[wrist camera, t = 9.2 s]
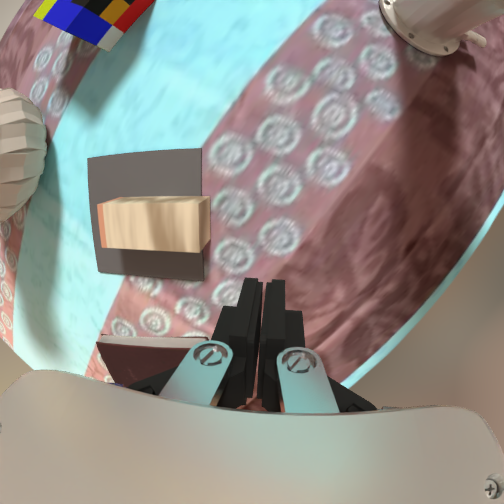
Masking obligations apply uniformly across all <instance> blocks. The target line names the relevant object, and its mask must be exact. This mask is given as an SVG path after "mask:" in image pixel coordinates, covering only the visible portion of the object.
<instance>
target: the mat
mask: <svg viewBox="0 0 504 504" xmlns="http://www.w3.org/2000/svg"><path fill="white" fill-rule="evenodd" d="M87 161H88V188H89V203H90V214H91V224H92V232H93V240H94V247H95V254H96V260H97V266H98V272H107V273H117V274H127V275H137V276H148V277H160V278H172V279H184V280H197V281H204V271H203V249H202V250H201V252H200V253H194V252H175V251H156V250H137V249H119V248H102V245H101V238H100V229H99V220H98V209H97V204H100V203H103V202H106V201H109V200H112V199H116V198H119V197H152V196H202V148H195V149H173V150H158V151H145V152H134V153H124V154H115V155H107V156H100V157H93V158H87Z"/></svg>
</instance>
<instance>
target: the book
mask: <svg viewBox="0 0 504 504" xmlns="http://www.w3.org/2000/svg"><path fill="white" fill-rule="evenodd" d="M101 335H102V338H101V340H100V341H99V342H96V344H97V347H98V350H99V352H100V354H101V357H102V359H103V361H104V363H105V364H106V366H107V369H108V371H109V373H110V374H111V376H112V378H113V380H114V382H115V383H117V384H124V387H128V386H129V385H131V384H133V383H135V382H137V381H140V380H143V379H146V378H148V377H151V376H154V375H156V374H159V373H161V372H164V371H167V370H169V369H172V368H174V367H177V366H179V365H180V363H181V362H182V360H183V359H184V358H185V356H186V355H187V353H188V352H189V350H190V349H191V348H192V347H193V346H194V345H196V344H197V343H199V342H203V341H209V339H208V337H129V336H114V335H106V334H101Z"/></svg>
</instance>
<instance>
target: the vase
mask: <svg viewBox="0 0 504 504" xmlns="http://www.w3.org/2000/svg"><path fill="white" fill-rule="evenodd" d="M45 126H46V125H43V119H42V113H41V111H40V109H39V108H38V107H36V106H35V105H34V104H33V102H32V101H31V100H30V99H29V98H27V97H26V96H24V95H23V94H21V93H19V92H17V91H16V90H14V89H11V88H7V89H3V90H2V89H0V222H4V221H6V220H7V219H8V218H9V217H11V216H12V215H13V214H14V213H16V212H17V211H18V210H19V209H20V208H21V207H23V206H24V204H25V203H26V202H27V201H28V199H29V197H30V196H31V195H32V194H33V193H34V192H35V190H36V189H37V188H38V183H39V179H40V175H41V174H43V170H44V166H45V160H44V157H45V156H46V153H47V151H46V148H47V143H46V142H45V140H46V128H45Z"/></svg>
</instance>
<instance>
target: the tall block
mask: <svg viewBox="0 0 504 504" xmlns="http://www.w3.org/2000/svg"><path fill="white" fill-rule="evenodd" d="M97 209H98V220H99V229H100V238H101V245H102V248H119V249H137V250H156V251H175V252H194V253H200V252H201V250H202V249H203V248H204V246H205V245H206V244H207V243H208V241H209V240H210V196H152V197H119V198H116V199H112V200H109V201H106V202H103V203H100V204H97Z"/></svg>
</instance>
